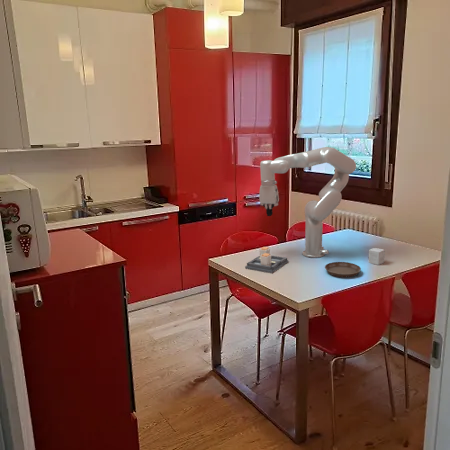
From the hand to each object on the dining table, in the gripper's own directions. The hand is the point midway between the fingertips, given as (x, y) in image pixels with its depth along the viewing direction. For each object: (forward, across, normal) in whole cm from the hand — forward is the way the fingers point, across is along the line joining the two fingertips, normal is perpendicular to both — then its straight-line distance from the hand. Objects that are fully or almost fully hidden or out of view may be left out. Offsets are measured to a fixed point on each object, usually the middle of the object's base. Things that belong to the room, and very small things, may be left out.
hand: (269, 215), depth 241 cm
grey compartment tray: (+25, -3, +13) cm, 28 cm away
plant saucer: (+26, -43, +7) cm, 51 cm away
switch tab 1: (+23, -5, +18) cm, 30 cm away
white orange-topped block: (+23, 0, +8) cm, 24 cm away
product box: (+27, -54, -16) cm, 63 cm away
